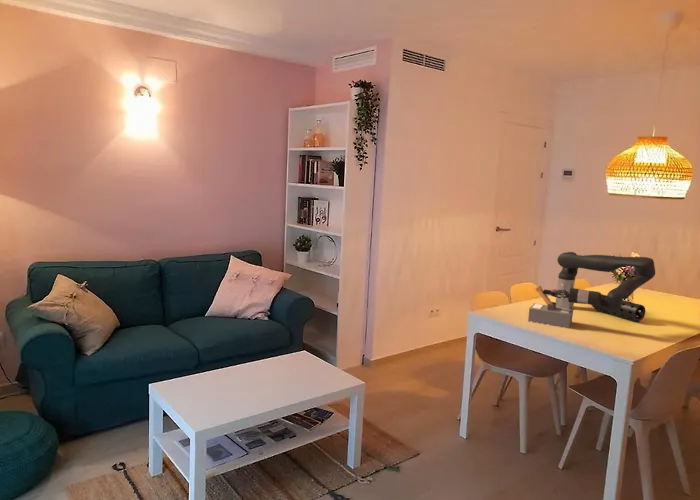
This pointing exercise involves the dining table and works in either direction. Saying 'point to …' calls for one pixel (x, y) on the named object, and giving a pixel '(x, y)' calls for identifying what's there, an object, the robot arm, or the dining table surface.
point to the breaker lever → (543, 295)
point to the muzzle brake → (626, 310)
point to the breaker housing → (550, 315)
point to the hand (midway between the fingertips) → (543, 291)
